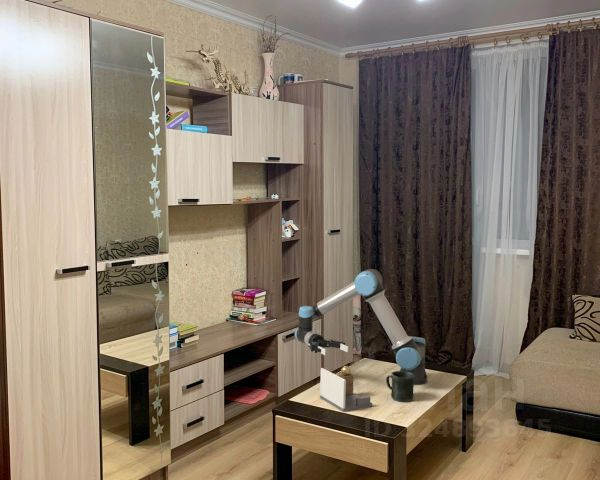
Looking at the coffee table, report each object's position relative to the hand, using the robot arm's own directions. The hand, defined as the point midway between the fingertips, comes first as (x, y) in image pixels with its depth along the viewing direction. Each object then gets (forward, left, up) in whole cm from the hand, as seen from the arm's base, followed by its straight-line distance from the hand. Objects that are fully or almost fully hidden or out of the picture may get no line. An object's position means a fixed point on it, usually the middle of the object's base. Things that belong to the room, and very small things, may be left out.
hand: (337, 351), depth 299 cm
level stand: (0, +15, -20) cm, 25 cm away
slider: (-2, +8, -19) cm, 20 cm away
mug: (-28, +14, -21) cm, 37 cm away
